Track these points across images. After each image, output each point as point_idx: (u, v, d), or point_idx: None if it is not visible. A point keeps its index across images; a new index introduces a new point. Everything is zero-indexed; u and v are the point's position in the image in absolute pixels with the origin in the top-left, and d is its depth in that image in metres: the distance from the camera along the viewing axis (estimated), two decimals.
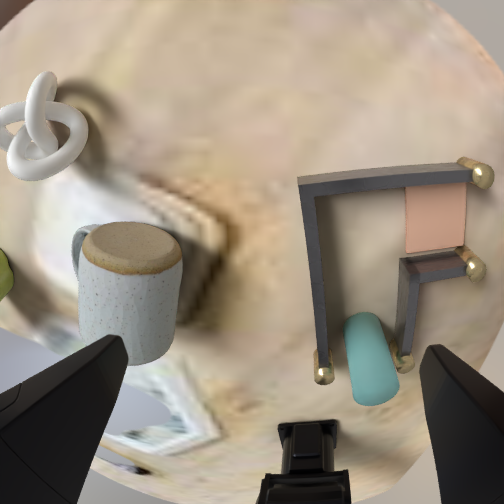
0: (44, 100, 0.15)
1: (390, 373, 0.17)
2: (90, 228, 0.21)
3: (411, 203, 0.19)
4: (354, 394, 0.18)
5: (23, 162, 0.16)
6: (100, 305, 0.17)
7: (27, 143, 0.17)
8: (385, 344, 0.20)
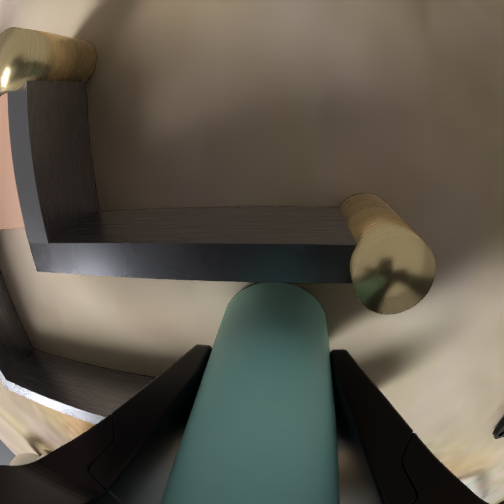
0: None
1: None
2: None
3: (1, 220, 0.09)
4: None
5: None
6: None
7: None
8: (213, 379, 0.06)
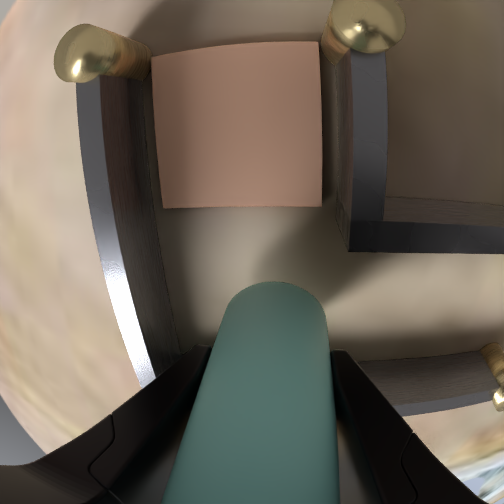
0: None
1: None
2: None
3: (200, 196, 0.10)
4: None
5: None
6: None
7: None
8: (213, 379, 0.06)
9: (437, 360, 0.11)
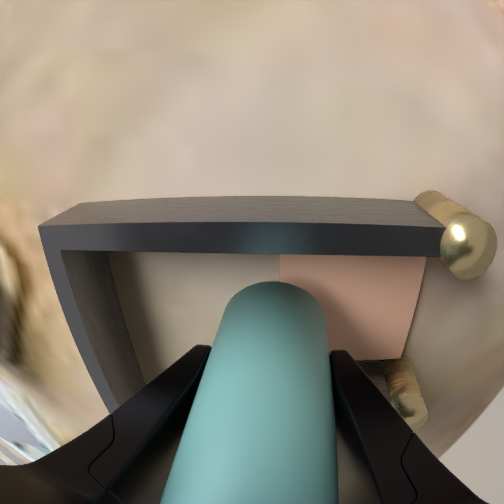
0: None
1: None
2: None
3: (290, 276, 0.10)
4: None
5: None
6: None
7: None
8: (212, 379, 0.06)
9: None
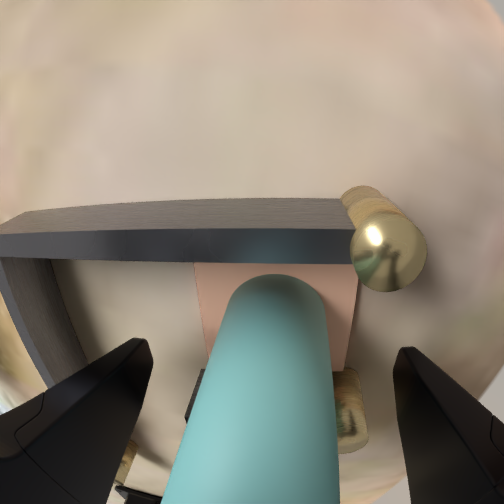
0: None
1: (165, 499, 0.04)
2: None
3: (207, 282, 0.10)
4: None
5: None
6: None
7: None
8: (218, 364, 0.06)
9: None
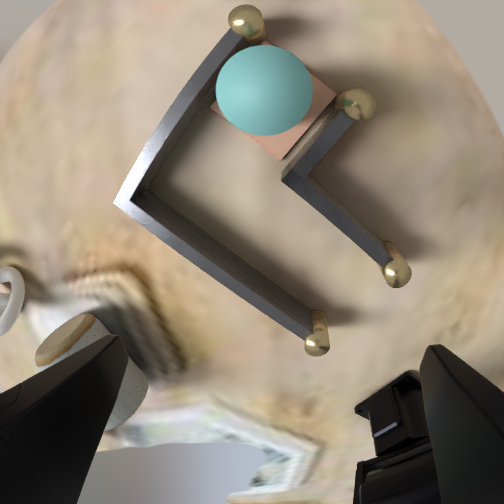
0: None
1: (220, 104, 0.10)
2: None
3: None
4: (299, 118, 0.10)
5: None
6: None
7: None
8: None
9: (283, 292, 0.21)
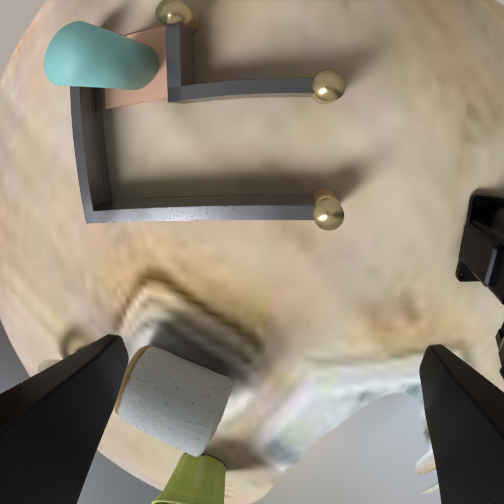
0: None
1: (58, 84, 0.11)
2: None
3: (121, 100, 0.17)
4: (94, 43, 0.10)
5: None
6: (145, 428, 0.20)
7: None
8: None
9: (270, 195, 0.19)
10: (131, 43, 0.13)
